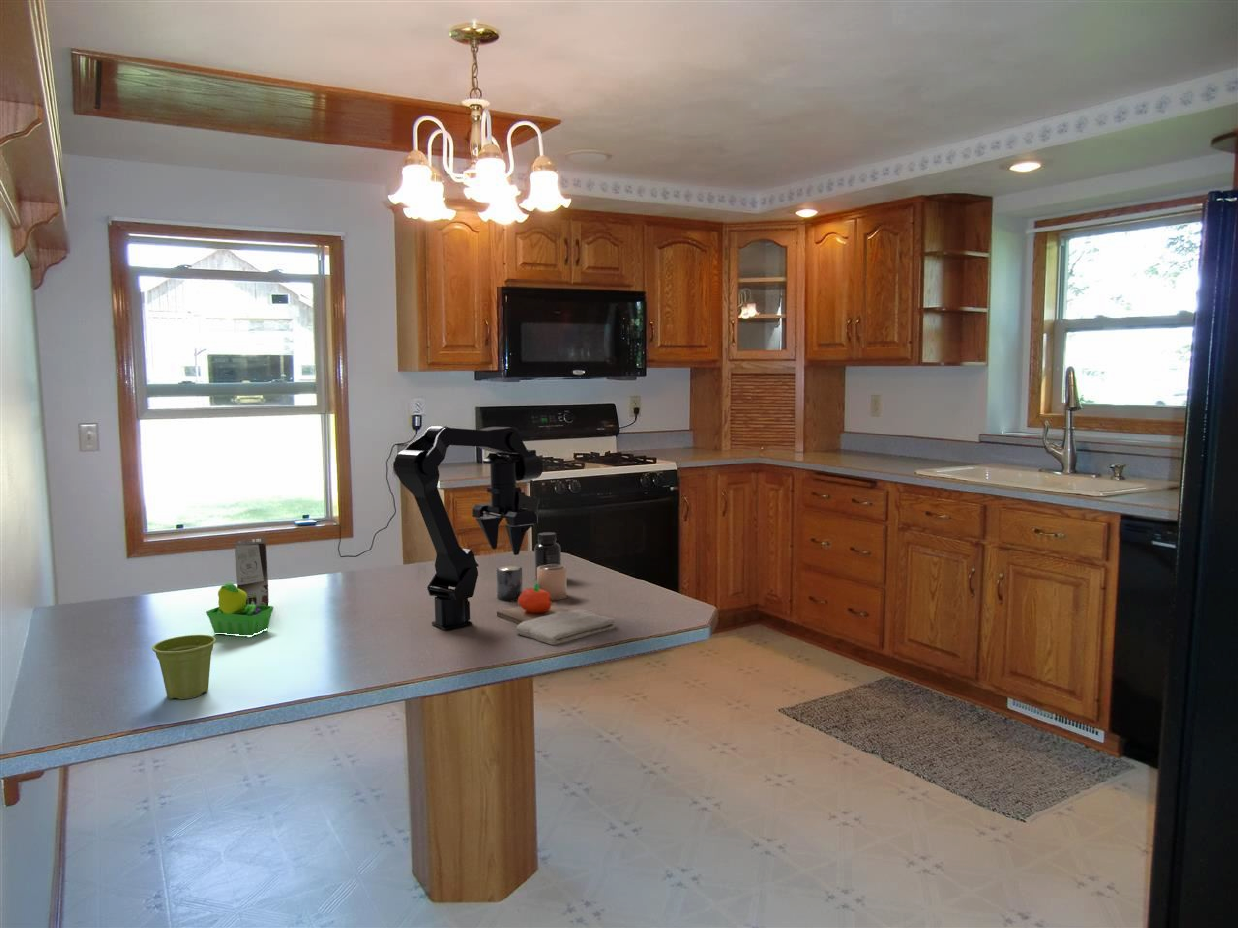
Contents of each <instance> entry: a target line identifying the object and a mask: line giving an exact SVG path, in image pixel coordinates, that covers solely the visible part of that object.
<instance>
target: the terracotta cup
mask: <svg viewBox="0 0 1238 928" xmlns="http://www.w3.org/2000/svg"><path fill="white" fill-rule="evenodd" d="M536 583H537V584H538V586H539V589H541V590H545V591H547V592H548V593H549V594H550V596H551V598H552V601H558V600H562V599H566V598H567V597H568V595H567V593H568V592H567V588H568V587H567V586H568V585H567V584H568V582H567V566H566V565H562V564H561V565H543V566H539V567H537V580H536Z"/></svg>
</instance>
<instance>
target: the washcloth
mask: <svg viewBox="0 0 1238 928" xmlns="http://www.w3.org/2000/svg"><path fill="white" fill-rule="evenodd" d="M615 622H616V621H615V619H614V618H613V617H611V616H610V617H609V616H605V615H598V614H595V613H594V612H592V611H590V610H583V609H581V608H580V609H579V608H578V609H574V610H571V611H570V610H568V612H564V611H558V612H556V613H554V614H551V615H547V616H542V617H538V618H535V619H532V620H528V621H523V622H522V623H520V624H517V625H516V628H515V632H516V633H518V635H521V636H523V637H526V638H531V639H533V640H537V642H538V641H539V642H541V643H544V644H548V645H551V646H556V645H559V644H562V643H567V642H570V641H572V640H576V639H580V638H584V637H587V636H589V635H594V634H597V633H600V632H605V631H610V630H613V629H615V628H616V625H615V624H614V623H615Z"/></svg>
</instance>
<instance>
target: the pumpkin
mask: <svg viewBox="0 0 1238 928" xmlns="http://www.w3.org/2000/svg"><path fill="white" fill-rule="evenodd" d="M552 602H553V600H552V598H551V596H550V594H549V593H548V592H547V591H545V590H541V589H539V586H538V584H537V582H536V583H535V585H534V587H528V588H525V589H524V590H523V592H522V593H521V595H520V596H519V598H518V600H517V603H518V605H519V607H520V606H521V607H522V608H523V609H524V610H526V611H527V612H530V613H543V612H546V611H548V610H549V609H550V607H551V605H552V604H553V603H552Z"/></svg>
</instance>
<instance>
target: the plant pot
mask: <svg viewBox="0 0 1238 928" xmlns="http://www.w3.org/2000/svg"><path fill="white" fill-rule="evenodd" d="M216 640H217V639H216V637H215V636H213V635H209V634H191V635H189V634H188V635H181V636H175V637H171V638H166V639H163V640H161V641H160V642H157V643H155V644H153V645H152V647H151V650H152V651H153V652H154V653H155V657H156V659H157V660H158V662H159V666H160V670H161V675H162V678H163V684H164V688H165V693H166V697H167V698H168V699H175V698H176V699H178V700H187V699H193V698H196V697H199V696H201V695H202V694H203V693H207V692H208V691H209V684H210V683H209V682H210V670H211V669H210V668H211V659H212V657H211V656H212V651H213V650H214V644H215V643H216Z"/></svg>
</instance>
